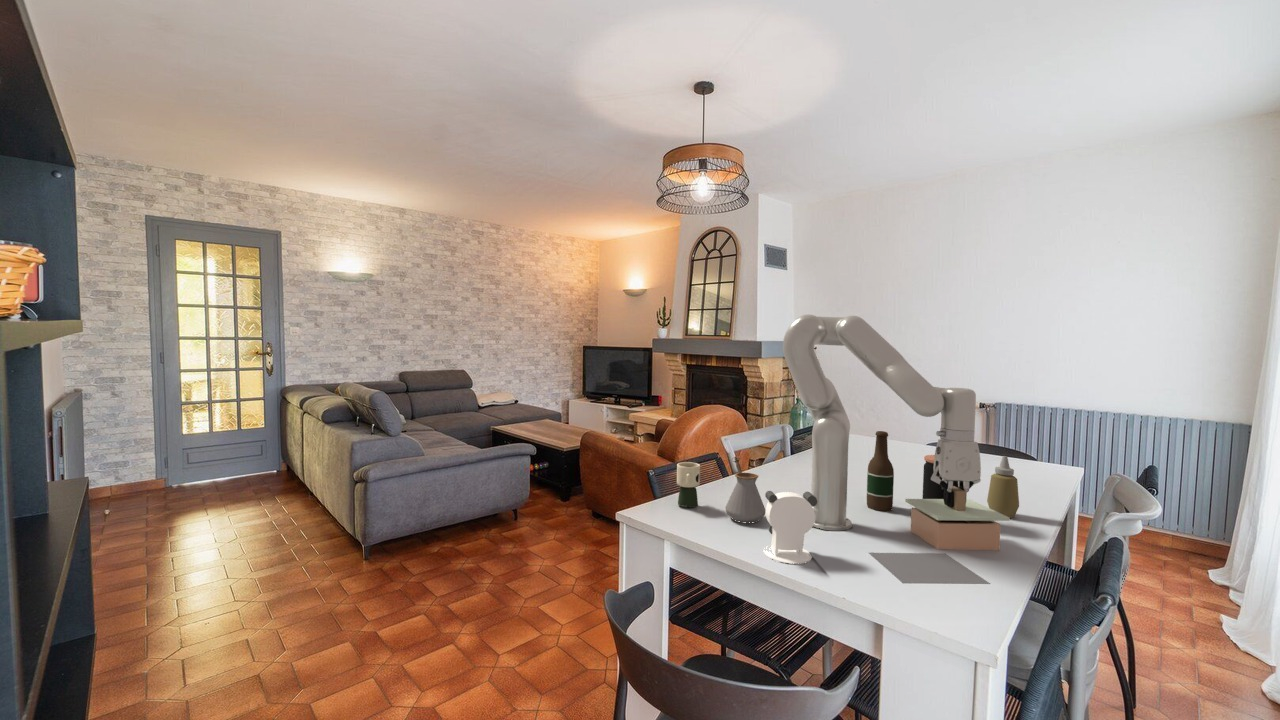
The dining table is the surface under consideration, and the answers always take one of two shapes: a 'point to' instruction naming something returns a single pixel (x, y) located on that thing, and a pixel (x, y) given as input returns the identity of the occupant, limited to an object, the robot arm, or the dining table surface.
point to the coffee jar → (930, 487)
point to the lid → (957, 508)
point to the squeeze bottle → (1003, 490)
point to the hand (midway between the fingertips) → (954, 505)
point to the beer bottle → (880, 476)
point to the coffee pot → (745, 498)
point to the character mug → (688, 483)
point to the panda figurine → (789, 525)
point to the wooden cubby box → (956, 533)
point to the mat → (927, 568)
